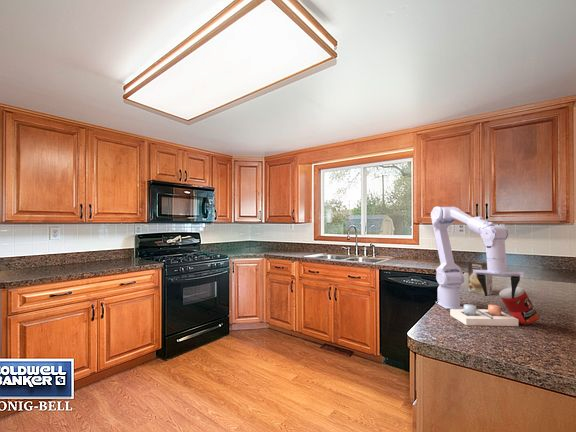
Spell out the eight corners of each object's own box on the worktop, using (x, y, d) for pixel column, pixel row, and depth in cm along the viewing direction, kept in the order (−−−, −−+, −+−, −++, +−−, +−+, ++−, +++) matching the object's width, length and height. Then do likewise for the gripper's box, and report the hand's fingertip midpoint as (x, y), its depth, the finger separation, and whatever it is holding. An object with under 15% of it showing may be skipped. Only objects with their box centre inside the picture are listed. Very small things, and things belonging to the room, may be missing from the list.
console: (450, 315, 111) (450, 307, 112) (497, 315, 111) (496, 308, 111) (466, 325, 100) (466, 316, 101) (518, 326, 100) (518, 317, 100)
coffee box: (467, 291, 148) (467, 261, 149) (474, 290, 152) (473, 260, 152) (487, 295, 141) (486, 263, 141) (493, 293, 144) (492, 262, 144)
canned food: (531, 326, 97) (515, 297, 98) (509, 322, 105) (494, 295, 105) (544, 314, 99) (528, 286, 100) (521, 311, 107) (506, 285, 108)
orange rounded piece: (485, 313, 107) (485, 304, 107) (496, 313, 107) (496, 304, 107) (492, 317, 103) (492, 307, 103) (504, 317, 103) (503, 307, 103)
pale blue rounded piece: (461, 313, 108) (461, 304, 108) (472, 313, 108) (472, 304, 108) (467, 316, 104) (467, 307, 104) (478, 316, 104) (478, 307, 104)
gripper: (471, 258, 103) (473, 296, 102) (522, 260, 94) (526, 301, 93) (473, 257, 108) (475, 293, 107) (521, 258, 99) (525, 297, 98)
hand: (499, 296), depth 100 cm, fingers open, 7 cm apart
